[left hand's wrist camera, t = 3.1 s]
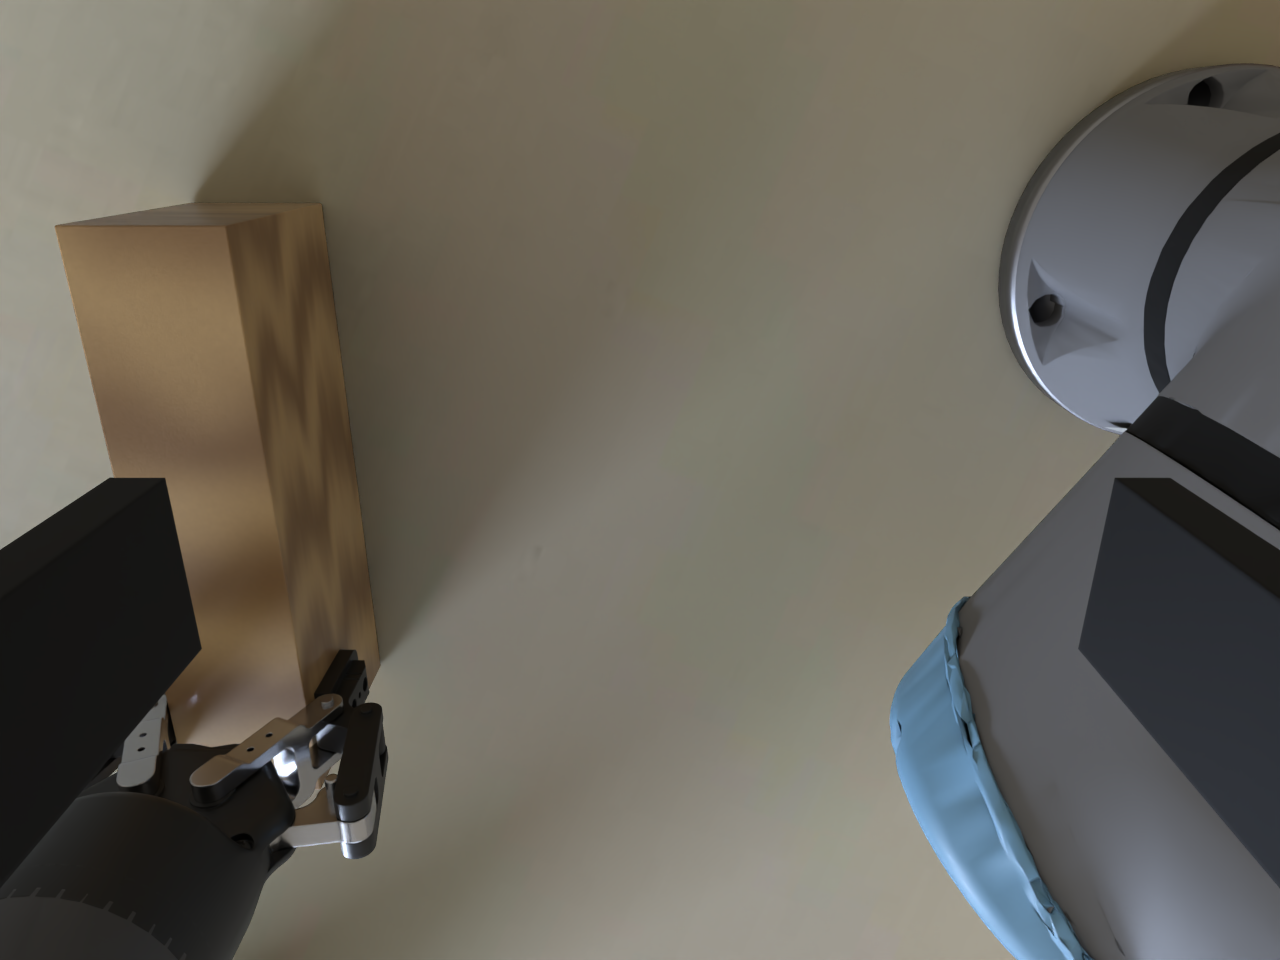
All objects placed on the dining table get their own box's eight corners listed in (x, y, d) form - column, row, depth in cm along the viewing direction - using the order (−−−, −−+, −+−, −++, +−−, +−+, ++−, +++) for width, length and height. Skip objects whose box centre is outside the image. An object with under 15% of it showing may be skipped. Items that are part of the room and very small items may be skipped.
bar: (189, 202, 38) (53, 225, 29) (321, 203, 38) (225, 225, 29) (272, 665, 46) (187, 789, 37) (380, 665, 46) (320, 790, 37)
